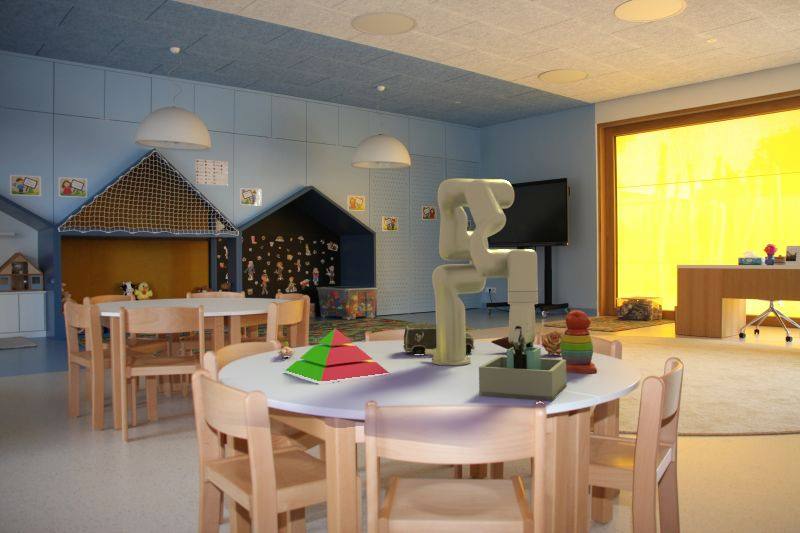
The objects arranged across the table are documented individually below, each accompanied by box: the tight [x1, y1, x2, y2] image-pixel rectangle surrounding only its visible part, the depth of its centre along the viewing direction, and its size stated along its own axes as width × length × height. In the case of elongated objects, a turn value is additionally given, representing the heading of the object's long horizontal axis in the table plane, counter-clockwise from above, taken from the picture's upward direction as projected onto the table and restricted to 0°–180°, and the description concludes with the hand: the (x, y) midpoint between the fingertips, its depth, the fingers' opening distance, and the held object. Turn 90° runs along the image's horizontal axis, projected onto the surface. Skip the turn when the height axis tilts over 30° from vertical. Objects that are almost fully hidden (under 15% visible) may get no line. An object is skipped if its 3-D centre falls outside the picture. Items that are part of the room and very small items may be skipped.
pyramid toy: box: [285, 328, 390, 381], centre depth 193 cm, size 25×25×14 cm
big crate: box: [478, 355, 567, 402], centre depth 165 cm, size 18×18×7 cm
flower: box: [540, 329, 564, 356], centre depth 222 cm, size 10×9×8 cm
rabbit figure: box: [277, 341, 297, 357], centre depth 226 cm, size 6×6×15 cm
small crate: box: [506, 347, 542, 370], centre depth 165 cm, size 7×7×6 cm
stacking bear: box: [560, 309, 598, 374], centre depth 192 cm, size 11×10×18 cm
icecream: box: [491, 335, 536, 350], centre depth 229 cm, size 7×7×15 cm
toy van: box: [402, 323, 476, 355], centre depth 231 cm, size 11×25×10 cm, turn 94°
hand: (524, 367), depth 165 cm, fingers closed on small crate, 7 cm apart
